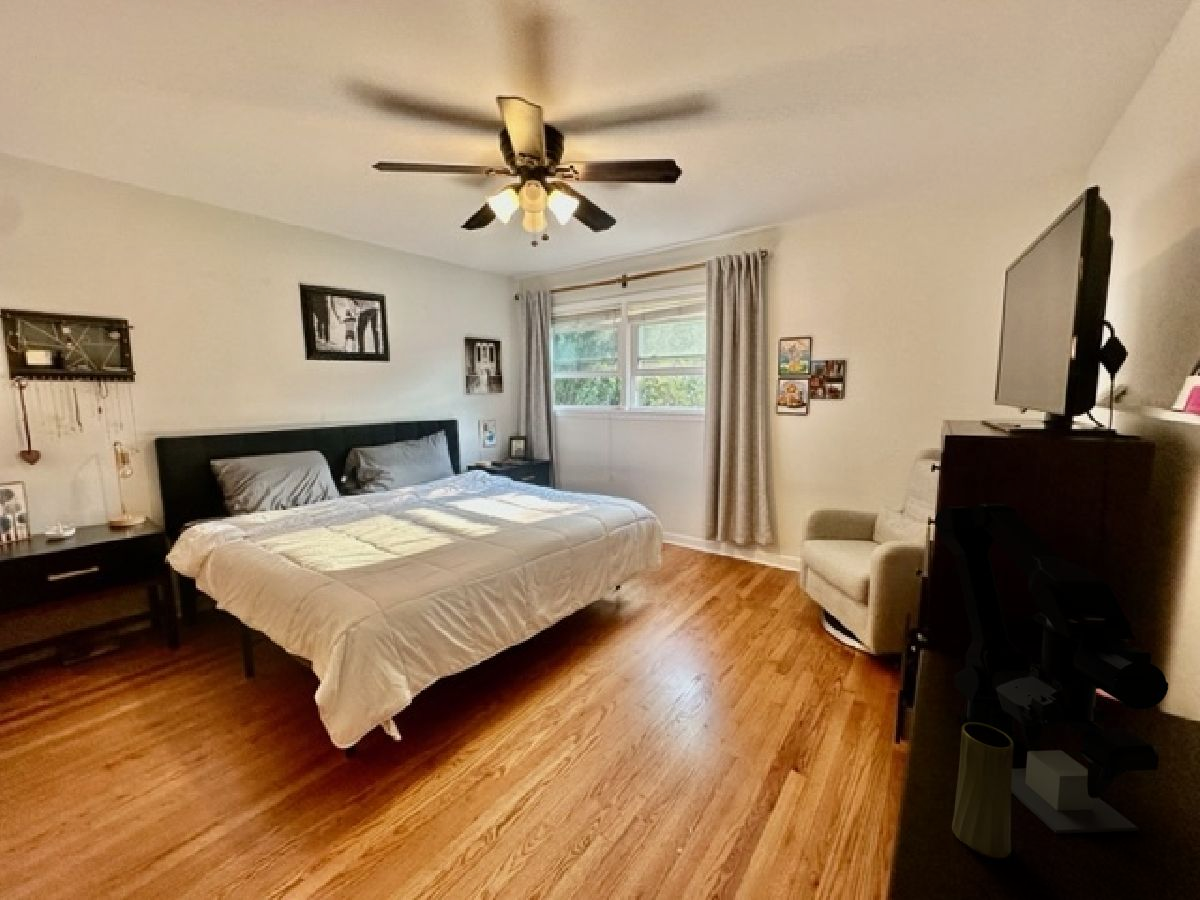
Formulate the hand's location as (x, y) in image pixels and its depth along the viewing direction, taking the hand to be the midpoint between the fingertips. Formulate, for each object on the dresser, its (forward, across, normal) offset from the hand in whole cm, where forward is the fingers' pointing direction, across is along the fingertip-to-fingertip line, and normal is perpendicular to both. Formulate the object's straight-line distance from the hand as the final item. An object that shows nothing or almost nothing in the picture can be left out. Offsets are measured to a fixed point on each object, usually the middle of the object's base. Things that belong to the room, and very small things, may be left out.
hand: (1060, 771), depth 71 cm
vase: (+4, +6, -16) cm, 18 cm away
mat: (+4, 0, 0) cm, 4 cm away
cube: (+4, 0, 0) cm, 4 cm away
